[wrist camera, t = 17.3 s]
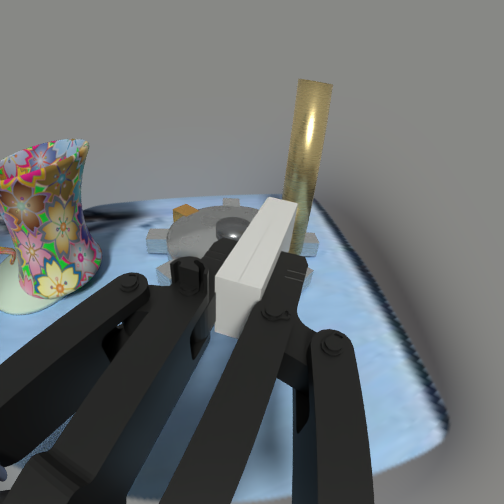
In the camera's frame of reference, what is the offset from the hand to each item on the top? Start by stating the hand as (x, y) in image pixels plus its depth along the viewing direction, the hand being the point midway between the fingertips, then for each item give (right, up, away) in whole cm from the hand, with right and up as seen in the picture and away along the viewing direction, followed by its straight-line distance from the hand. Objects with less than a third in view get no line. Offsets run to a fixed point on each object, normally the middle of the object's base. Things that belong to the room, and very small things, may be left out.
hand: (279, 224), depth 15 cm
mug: (-19, -4, +6) cm, 20 cm away
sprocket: (-3, -1, +12) cm, 13 cm away
